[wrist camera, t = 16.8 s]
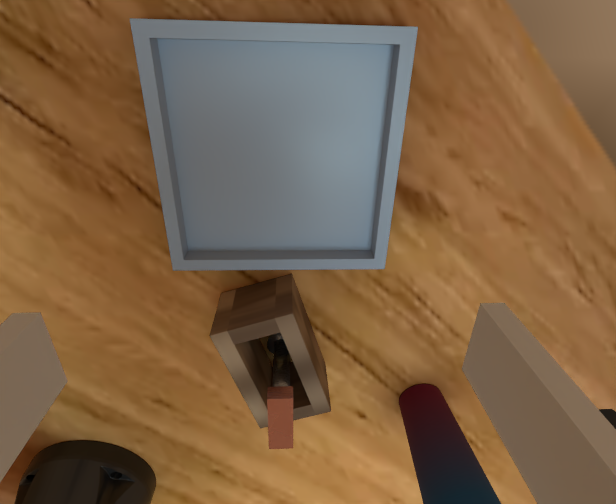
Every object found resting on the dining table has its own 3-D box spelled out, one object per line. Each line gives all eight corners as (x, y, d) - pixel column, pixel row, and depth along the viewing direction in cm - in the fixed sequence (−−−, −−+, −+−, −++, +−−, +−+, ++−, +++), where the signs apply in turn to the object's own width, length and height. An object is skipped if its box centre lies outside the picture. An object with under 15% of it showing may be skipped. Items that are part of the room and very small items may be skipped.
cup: (402, 374, 42) (456, 524, 28) (458, 381, 43) (535, 529, 29) (383, 415, 45) (424, 567, 31) (436, 421, 46) (497, 571, 32)
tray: (179, 257, 33) (172, 270, 31) (141, 21, 25) (129, 18, 23) (379, 256, 34) (384, 269, 32) (408, 28, 26) (417, 26, 24)
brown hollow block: (221, 293, 35) (209, 335, 30) (291, 273, 35) (292, 313, 29) (263, 379, 41) (260, 428, 36) (325, 364, 40) (331, 411, 35)
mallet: (268, 364, 40) (263, 449, 31) (266, 319, 37) (260, 399, 28) (296, 363, 40) (298, 448, 31) (296, 318, 37) (299, 398, 29)
